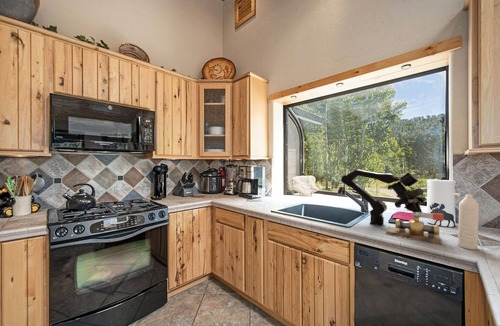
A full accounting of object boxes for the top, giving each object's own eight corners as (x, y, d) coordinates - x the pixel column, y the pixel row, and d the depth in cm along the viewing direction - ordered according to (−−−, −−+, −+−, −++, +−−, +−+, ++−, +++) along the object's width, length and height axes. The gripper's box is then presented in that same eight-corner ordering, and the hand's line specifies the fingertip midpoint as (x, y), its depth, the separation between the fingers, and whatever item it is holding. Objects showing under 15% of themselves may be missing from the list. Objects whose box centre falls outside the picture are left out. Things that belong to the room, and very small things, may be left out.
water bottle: (475, 246, 101) (477, 194, 100) (479, 251, 96) (481, 196, 95) (450, 241, 106) (452, 192, 105) (452, 246, 101) (454, 194, 100)
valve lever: (413, 217, 112) (413, 211, 112) (412, 215, 115) (412, 210, 115) (443, 221, 106) (443, 215, 106) (442, 219, 108) (442, 213, 108)
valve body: (395, 231, 116) (395, 215, 116) (396, 228, 121) (396, 213, 121) (439, 239, 105) (439, 221, 105) (438, 236, 110) (438, 218, 110)
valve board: (385, 233, 117) (386, 231, 117) (388, 228, 126) (388, 226, 125) (440, 244, 103) (440, 241, 103) (439, 238, 111) (439, 235, 111)
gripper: (400, 183, 115) (422, 208, 105) (423, 182, 121) (445, 206, 112) (386, 195, 123) (405, 219, 113) (408, 193, 129) (428, 216, 119)
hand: (421, 215), depth 114 cm, fingers closed
